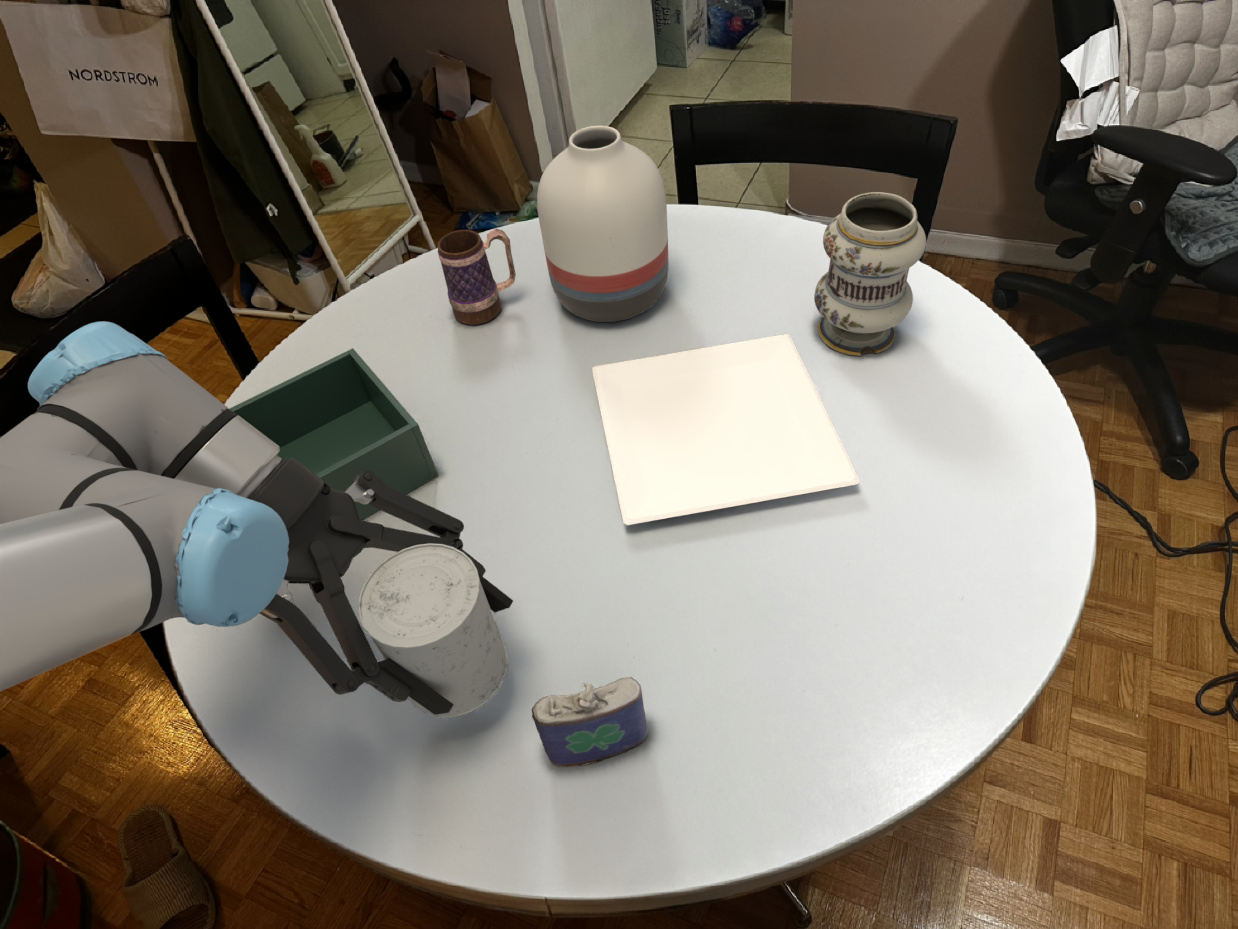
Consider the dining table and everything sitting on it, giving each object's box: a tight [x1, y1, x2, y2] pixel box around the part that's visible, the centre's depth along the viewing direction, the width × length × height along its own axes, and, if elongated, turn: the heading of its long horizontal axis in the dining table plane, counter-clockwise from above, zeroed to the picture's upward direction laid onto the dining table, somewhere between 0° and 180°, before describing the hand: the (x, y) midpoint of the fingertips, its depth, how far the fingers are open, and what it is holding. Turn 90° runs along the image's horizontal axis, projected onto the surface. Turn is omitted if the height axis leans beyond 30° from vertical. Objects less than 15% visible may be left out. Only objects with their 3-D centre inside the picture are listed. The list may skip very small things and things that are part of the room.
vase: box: [536, 125, 669, 323], centre depth 104 cm, size 17×17×24 cm
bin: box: [228, 347, 439, 521], centre depth 91 cm, size 18×18×9 cm
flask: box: [531, 676, 649, 768], centre depth 66 cm, size 9×3×11 cm, turn 103°
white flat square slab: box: [591, 333, 861, 526], centre depth 93 cm, size 26×26×2 cm
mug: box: [437, 228, 516, 326], centre depth 109 cm, size 10×7×12 cm
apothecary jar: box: [813, 191, 927, 357], centre depth 97 cm, size 12×12×18 cm
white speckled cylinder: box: [357, 543, 509, 719], centre depth 66 cm, size 10×10×12 cm
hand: (475, 655), depth 66 cm, fingers closed on white speckled cylinder, 9 cm apart
